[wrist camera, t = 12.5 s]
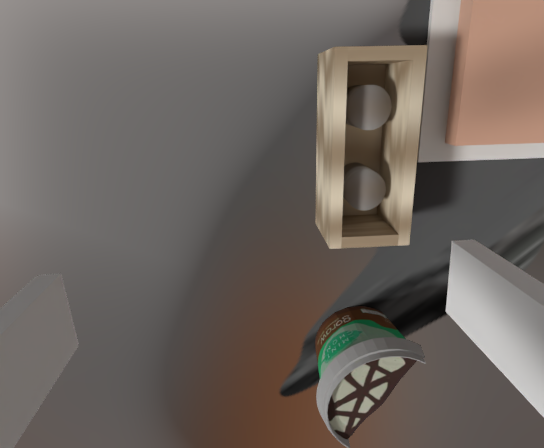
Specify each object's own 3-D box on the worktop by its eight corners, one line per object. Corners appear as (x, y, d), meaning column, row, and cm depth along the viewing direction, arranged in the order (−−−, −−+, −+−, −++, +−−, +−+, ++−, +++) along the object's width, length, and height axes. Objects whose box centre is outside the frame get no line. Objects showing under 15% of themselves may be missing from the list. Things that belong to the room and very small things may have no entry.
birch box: (317, 54, 36) (334, 46, 30) (393, 52, 37) (427, 45, 30) (315, 223, 41) (329, 248, 35) (382, 220, 42) (409, 244, 35)
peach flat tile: (464, -80, 33) (484, -95, 30) (579, -79, 34) (609, -95, 31) (439, 141, 39) (455, 145, 36) (538, 138, 40) (561, 142, 37)
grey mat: (440, -107, 33) (443, -110, 32) (602, -106, 34) (608, -109, 33) (416, 161, 40) (418, 162, 40) (550, 156, 41) (554, 157, 40)
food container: (347, 275, 44) (376, 327, 34) (390, 302, 45) (430, 359, 36) (283, 358, 46) (293, 427, 37) (325, 380, 48) (346, 452, 38)
